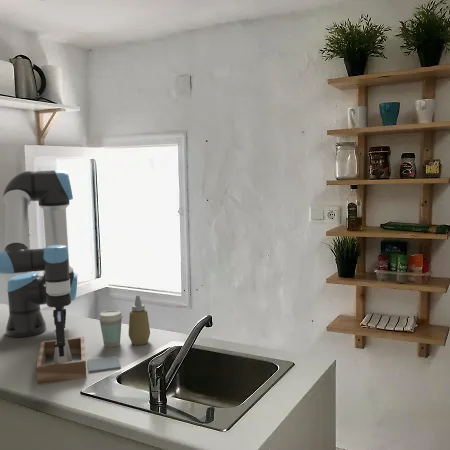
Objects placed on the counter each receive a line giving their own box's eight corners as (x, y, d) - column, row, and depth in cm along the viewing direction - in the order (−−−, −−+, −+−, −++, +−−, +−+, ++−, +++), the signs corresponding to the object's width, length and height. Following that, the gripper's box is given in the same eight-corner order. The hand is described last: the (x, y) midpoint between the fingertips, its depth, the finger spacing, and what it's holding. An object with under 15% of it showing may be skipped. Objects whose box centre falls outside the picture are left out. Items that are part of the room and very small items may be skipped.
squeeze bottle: (124, 345, 184) (122, 297, 182) (136, 338, 192) (134, 292, 190) (143, 347, 181) (141, 299, 179) (154, 340, 189) (152, 293, 187)
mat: (88, 361, 170) (87, 359, 170) (118, 357, 173) (117, 355, 172) (88, 372, 160) (88, 370, 160) (120, 368, 163) (120, 366, 163)
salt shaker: (66, 370, 162) (64, 332, 161) (50, 369, 163) (47, 331, 162) (75, 363, 168) (73, 326, 166) (59, 362, 169) (57, 325, 167)
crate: (42, 356, 175) (41, 341, 174) (84, 351, 179) (84, 336, 178) (37, 384, 152) (36, 367, 151) (86, 378, 156) (85, 361, 156)
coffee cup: (128, 342, 188) (126, 311, 186) (114, 349, 180) (112, 317, 179) (109, 339, 191) (108, 308, 190) (95, 346, 184) (93, 315, 182)
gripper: (47, 286, 172) (52, 350, 174) (44, 302, 151) (49, 374, 154) (70, 284, 174) (74, 347, 177) (70, 300, 154) (74, 370, 156)
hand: (62, 359), depth 165 cm, fingers open, 9 cm apart
